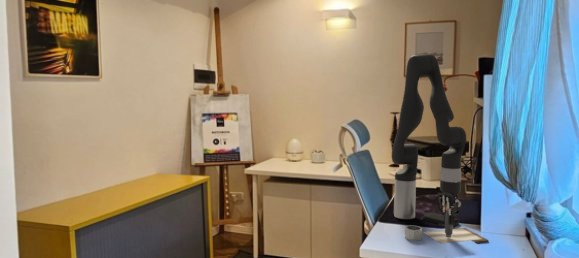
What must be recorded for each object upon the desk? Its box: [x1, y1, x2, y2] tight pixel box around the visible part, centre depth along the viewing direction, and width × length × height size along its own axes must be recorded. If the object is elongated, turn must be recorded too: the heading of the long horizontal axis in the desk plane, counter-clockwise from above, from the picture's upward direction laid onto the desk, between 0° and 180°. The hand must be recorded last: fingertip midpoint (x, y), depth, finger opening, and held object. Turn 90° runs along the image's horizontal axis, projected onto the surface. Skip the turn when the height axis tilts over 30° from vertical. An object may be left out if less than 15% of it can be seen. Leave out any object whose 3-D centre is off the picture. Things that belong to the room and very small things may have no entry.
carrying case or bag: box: [420, 212, 461, 228], centre depth 199 cm, size 11×3×15 cm
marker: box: [444, 206, 454, 238], centre depth 177 cm, size 3×3×12 cm
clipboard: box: [422, 227, 489, 244], centre depth 181 cm, size 15×22×1 cm
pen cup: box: [404, 224, 423, 242], centre depth 178 cm, size 6×6×5 cm
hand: (449, 223), depth 177 cm, fingers closed on marker, 2 cm apart
